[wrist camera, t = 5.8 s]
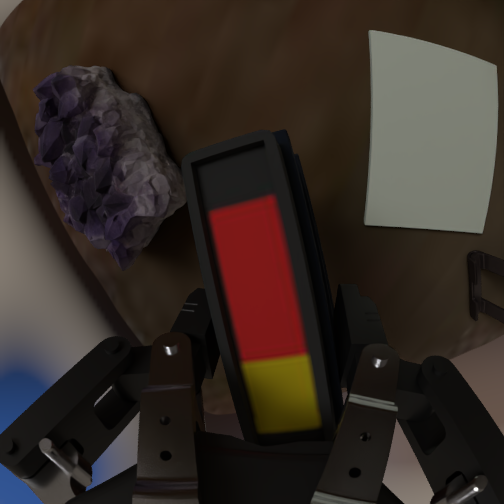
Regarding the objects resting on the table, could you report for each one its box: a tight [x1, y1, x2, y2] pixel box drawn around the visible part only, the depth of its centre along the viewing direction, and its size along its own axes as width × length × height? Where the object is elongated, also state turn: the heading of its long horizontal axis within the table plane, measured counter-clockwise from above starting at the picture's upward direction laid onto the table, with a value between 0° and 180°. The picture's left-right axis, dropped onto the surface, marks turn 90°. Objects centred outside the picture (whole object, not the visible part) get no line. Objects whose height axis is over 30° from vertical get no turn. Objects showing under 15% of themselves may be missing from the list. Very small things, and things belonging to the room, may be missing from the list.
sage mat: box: [364, 30, 498, 233], centre depth 21 cm, size 18×14×1 cm
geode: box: [33, 65, 187, 271], centre depth 23 cm, size 20×12×10 cm, turn 29°
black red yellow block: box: [181, 130, 344, 446], centre depth 16 cm, size 4×13×15 cm, turn 17°
